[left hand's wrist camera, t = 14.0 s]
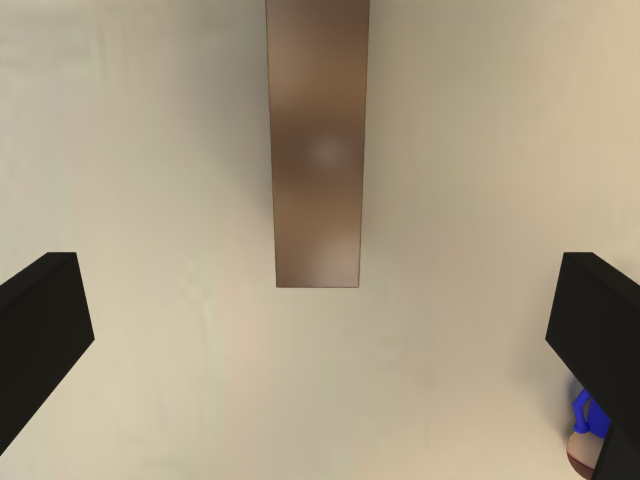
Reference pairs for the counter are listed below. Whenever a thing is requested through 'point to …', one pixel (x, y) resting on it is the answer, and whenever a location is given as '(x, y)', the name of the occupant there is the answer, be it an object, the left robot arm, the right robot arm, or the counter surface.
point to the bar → (317, 138)
